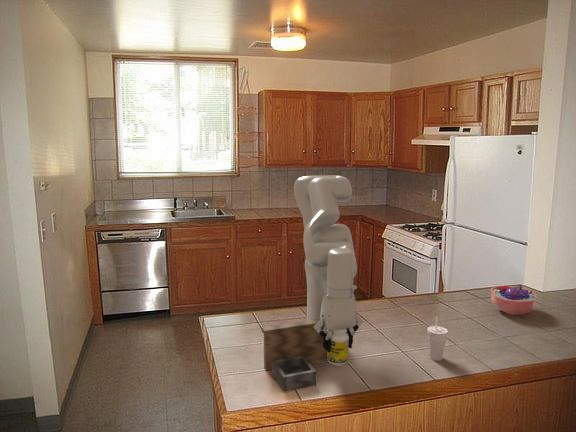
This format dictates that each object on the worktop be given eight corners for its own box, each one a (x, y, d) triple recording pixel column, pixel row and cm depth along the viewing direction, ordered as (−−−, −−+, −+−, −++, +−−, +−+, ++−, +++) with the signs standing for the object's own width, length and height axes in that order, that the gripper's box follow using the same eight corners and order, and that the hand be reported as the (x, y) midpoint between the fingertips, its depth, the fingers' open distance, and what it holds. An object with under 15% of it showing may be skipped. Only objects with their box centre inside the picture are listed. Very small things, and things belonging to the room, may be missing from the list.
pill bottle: (324, 363, 137) (325, 329, 135) (330, 353, 143) (331, 320, 140) (344, 368, 135) (346, 333, 133) (350, 357, 141) (351, 324, 138)
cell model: (537, 308, 193) (540, 282, 191) (532, 325, 176) (535, 296, 174) (493, 300, 202) (495, 275, 200) (485, 315, 185) (487, 288, 183)
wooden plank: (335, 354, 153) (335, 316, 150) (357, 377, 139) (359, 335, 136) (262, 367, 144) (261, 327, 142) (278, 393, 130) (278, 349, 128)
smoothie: (422, 353, 153) (424, 313, 151) (441, 352, 154) (444, 312, 151) (430, 363, 147) (432, 321, 145) (449, 362, 148) (452, 320, 145)
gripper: (360, 283, 140) (357, 337, 144) (307, 290, 135) (306, 347, 138) (372, 292, 134) (369, 349, 137) (317, 299, 128) (316, 359, 132)
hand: (337, 347), depth 138 cm, fingers closed on pill bottle, 6 cm apart
